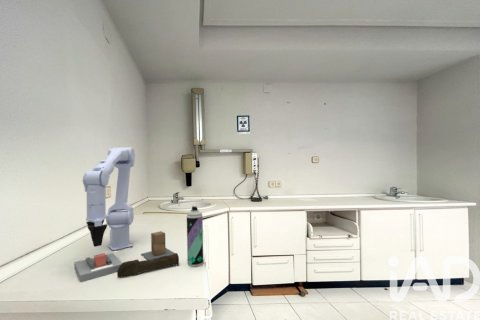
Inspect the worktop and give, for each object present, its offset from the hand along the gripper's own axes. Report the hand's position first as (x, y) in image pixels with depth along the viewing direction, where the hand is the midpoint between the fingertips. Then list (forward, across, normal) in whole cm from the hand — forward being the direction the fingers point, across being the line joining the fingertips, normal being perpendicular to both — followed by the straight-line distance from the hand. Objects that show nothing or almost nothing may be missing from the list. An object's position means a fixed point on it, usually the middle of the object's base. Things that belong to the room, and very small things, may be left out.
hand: (96, 243), depth 82 cm
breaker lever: (+6, -6, 0) cm, 8 cm away
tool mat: (+8, -3, -20) cm, 22 cm away
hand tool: (+8, -16, -14) cm, 23 cm away
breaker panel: (+8, -3, 0) cm, 9 cm away
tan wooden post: (+8, -3, -20) cm, 22 cm away
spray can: (+8, -21, -28) cm, 36 cm away
